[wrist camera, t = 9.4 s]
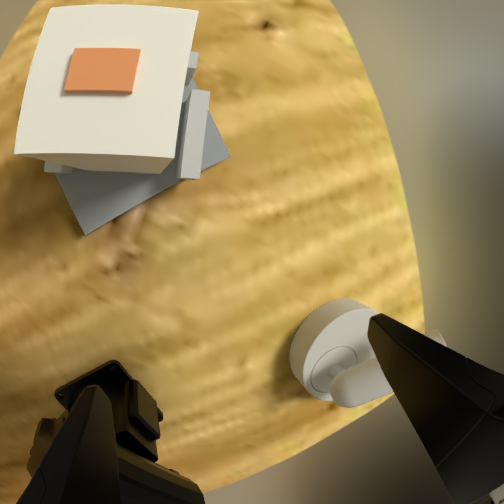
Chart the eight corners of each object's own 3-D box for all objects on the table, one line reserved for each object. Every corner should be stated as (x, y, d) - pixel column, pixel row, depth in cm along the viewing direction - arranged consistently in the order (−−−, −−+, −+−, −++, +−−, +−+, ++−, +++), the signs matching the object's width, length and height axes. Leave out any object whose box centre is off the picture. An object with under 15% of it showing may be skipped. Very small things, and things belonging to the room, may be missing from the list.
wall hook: (461, 381, 20) (368, 467, 18) (391, 337, 28) (311, 401, 27) (456, 305, 17) (336, 414, 15) (368, 268, 26) (271, 340, 24)
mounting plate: (90, 236, 18) (77, 249, 14) (30, 101, 15) (6, 84, 11) (229, 160, 20) (249, 155, 16) (166, 32, 17) (172, 1, 13)
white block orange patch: (159, 174, 18) (175, 156, 7) (87, 170, 16) (10, 153, 6) (169, 100, 17) (201, 2, 6) (98, 96, 15) (50, 0, 5)
